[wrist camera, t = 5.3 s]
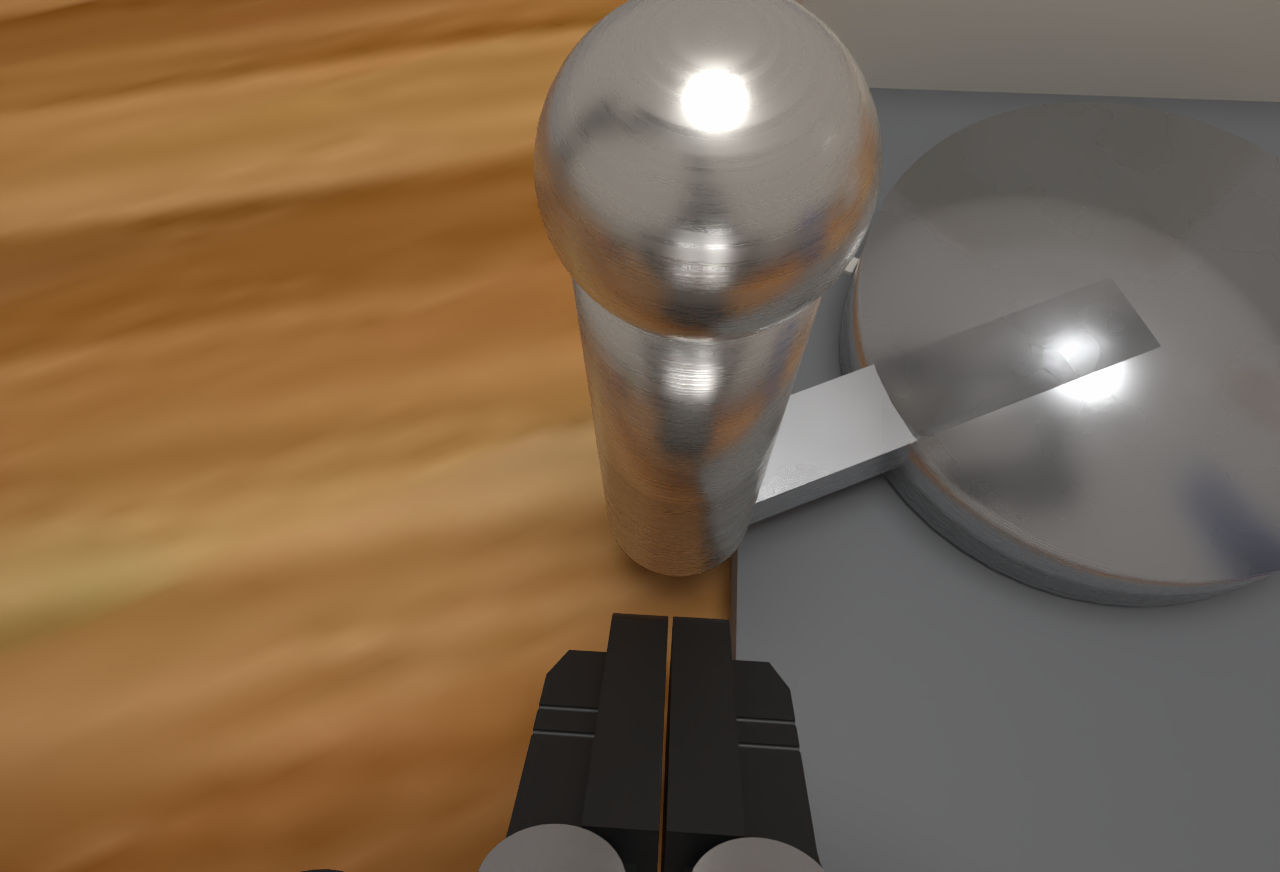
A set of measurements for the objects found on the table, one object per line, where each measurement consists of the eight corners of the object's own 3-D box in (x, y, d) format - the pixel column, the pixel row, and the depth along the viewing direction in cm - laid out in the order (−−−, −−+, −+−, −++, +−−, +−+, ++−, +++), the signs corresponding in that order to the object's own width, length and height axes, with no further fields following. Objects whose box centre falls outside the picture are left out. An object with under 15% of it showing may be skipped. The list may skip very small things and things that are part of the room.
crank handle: (709, 819, 15) (843, 811, 4) (519, 332, 18) (346, -295, 8) (1460, 491, 17) (2767, -42, 6) (1151, 115, 21) (1660, -604, 10)
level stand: (724, 947, 15) (768, 1028, 9) (741, 23, 24) (771, -240, 18) (1561, 1007, 15) (2174, 1133, 9) (1267, 39, 24) (1476, -226, 18)
